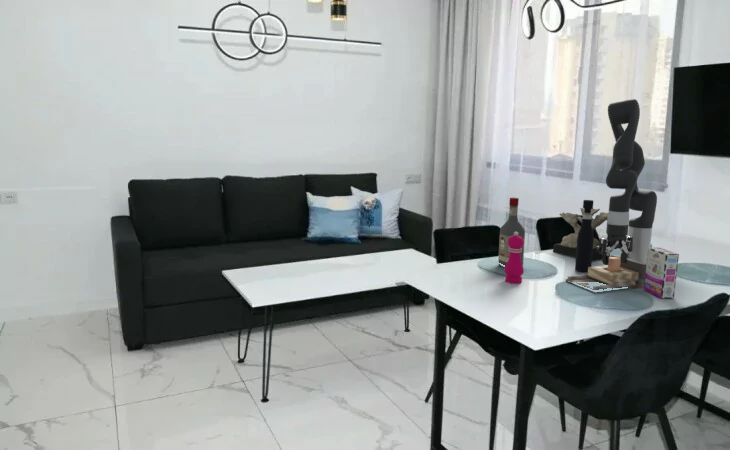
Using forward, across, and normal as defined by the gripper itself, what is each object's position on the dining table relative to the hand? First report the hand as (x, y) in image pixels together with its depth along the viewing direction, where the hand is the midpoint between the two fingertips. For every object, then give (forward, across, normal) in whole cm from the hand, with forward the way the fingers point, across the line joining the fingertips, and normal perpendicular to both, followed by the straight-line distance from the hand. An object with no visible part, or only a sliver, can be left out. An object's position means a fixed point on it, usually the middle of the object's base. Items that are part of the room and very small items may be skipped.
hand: (614, 263), depth 208 cm
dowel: (+6, 0, 0) cm, 6 cm away
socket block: (+7, 0, 0) cm, 7 cm away
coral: (+8, -24, -45) cm, 52 cm away
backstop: (+8, +4, 0) cm, 9 cm away
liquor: (+8, +23, -35) cm, 43 cm away
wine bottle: (+8, -2, -19) cm, 21 cm away
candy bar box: (+8, -6, +16) cm, 19 cm away
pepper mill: (+8, +35, -15) cm, 39 cm away
